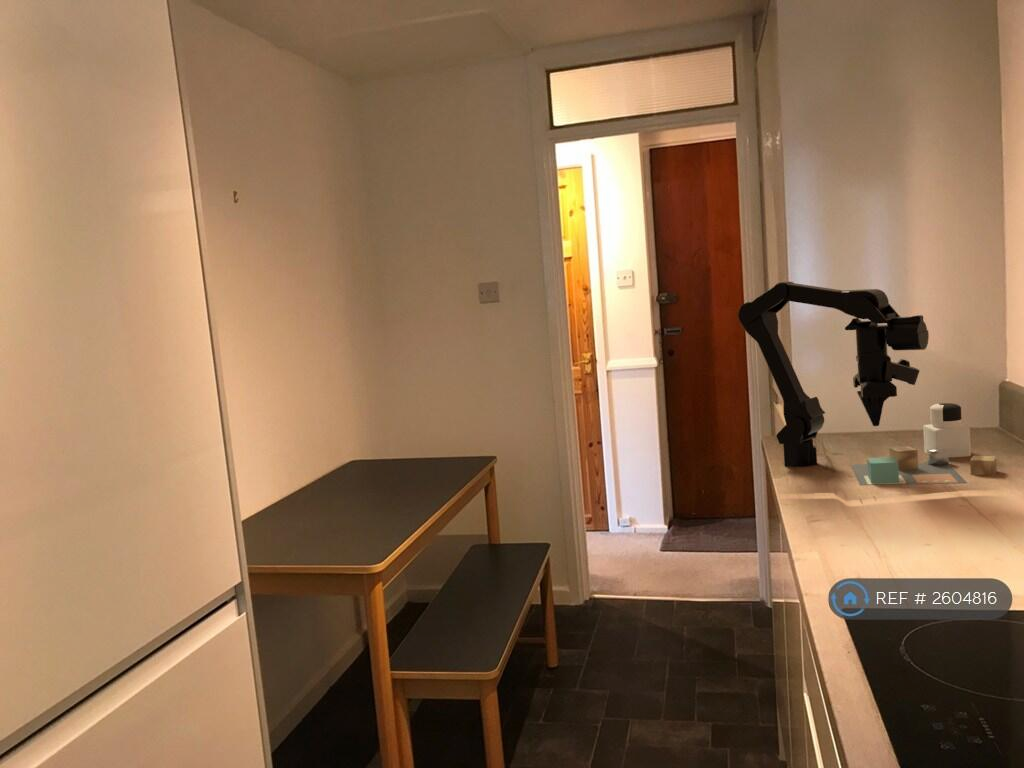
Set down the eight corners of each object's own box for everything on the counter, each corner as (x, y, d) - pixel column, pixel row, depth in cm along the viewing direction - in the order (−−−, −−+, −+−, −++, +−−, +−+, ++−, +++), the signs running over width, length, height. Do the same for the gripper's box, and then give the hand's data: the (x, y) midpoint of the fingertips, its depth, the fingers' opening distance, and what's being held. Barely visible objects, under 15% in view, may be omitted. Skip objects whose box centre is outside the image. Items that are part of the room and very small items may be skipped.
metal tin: (929, 466, 174) (929, 452, 173) (925, 462, 178) (925, 448, 177) (950, 465, 173) (950, 451, 172) (946, 461, 176) (946, 447, 176)
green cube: (871, 483, 165) (870, 463, 164) (868, 477, 170) (867, 458, 169) (898, 482, 163) (898, 462, 163) (894, 476, 168) (894, 457, 168)
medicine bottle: (957, 453, 186) (955, 400, 185) (971, 460, 179) (969, 405, 178) (923, 456, 187) (921, 403, 186) (936, 462, 180) (934, 407, 179)
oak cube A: (898, 470, 173) (898, 451, 172) (890, 466, 177) (889, 447, 176) (918, 468, 173) (917, 449, 172) (909, 464, 177) (908, 446, 176)
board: (860, 490, 164) (859, 484, 164) (850, 469, 182) (850, 464, 181) (967, 488, 159) (967, 482, 159) (947, 466, 176) (947, 461, 176)
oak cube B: (970, 460, 164) (993, 460, 162) (973, 455, 168) (996, 456, 165) (970, 479, 165) (994, 481, 162) (973, 475, 168) (996, 476, 166)
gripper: (923, 352, 160) (927, 432, 162) (907, 344, 178) (910, 416, 180) (861, 356, 164) (865, 435, 165) (851, 348, 181) (855, 418, 183)
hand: (875, 425), depth 173 cm, fingers closed
